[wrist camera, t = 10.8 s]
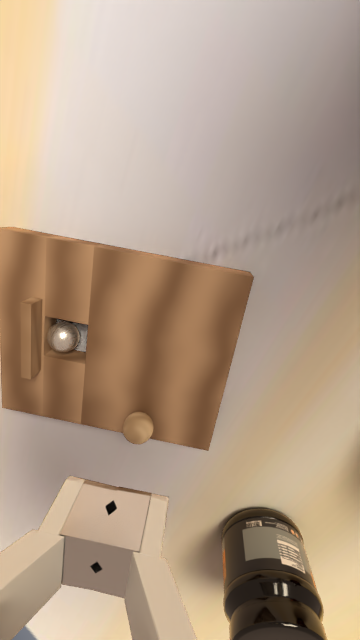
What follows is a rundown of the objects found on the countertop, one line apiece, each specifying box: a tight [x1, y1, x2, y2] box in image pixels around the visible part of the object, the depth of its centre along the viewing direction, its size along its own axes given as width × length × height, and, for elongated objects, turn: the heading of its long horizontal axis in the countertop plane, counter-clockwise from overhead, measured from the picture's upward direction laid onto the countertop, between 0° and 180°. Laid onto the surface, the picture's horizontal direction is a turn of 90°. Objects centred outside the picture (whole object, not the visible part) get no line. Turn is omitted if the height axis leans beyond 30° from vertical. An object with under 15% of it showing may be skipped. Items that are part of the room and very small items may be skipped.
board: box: [0, 227, 254, 451], centre depth 31 cm, size 24×20×4 cm
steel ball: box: [47, 322, 80, 352], centre depth 31 cm, size 3×3×3 cm
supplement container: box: [221, 509, 327, 640], centre depth 34 cm, size 10×10×12 cm
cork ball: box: [123, 412, 154, 444], centre depth 31 cm, size 3×3×3 cm
